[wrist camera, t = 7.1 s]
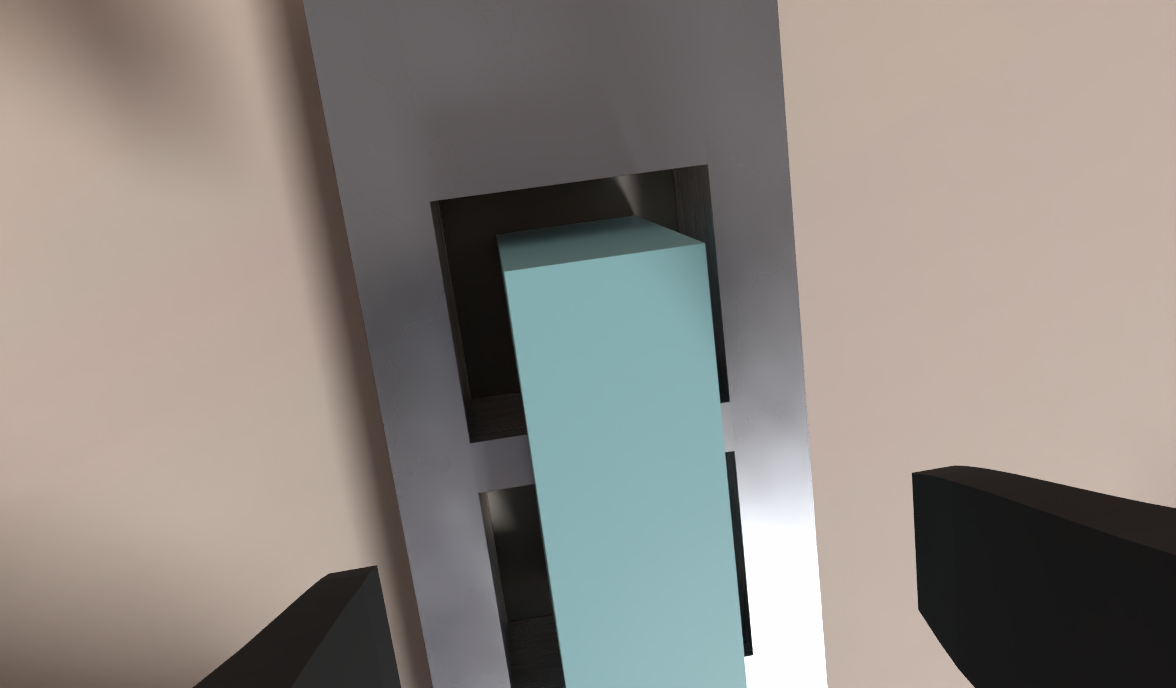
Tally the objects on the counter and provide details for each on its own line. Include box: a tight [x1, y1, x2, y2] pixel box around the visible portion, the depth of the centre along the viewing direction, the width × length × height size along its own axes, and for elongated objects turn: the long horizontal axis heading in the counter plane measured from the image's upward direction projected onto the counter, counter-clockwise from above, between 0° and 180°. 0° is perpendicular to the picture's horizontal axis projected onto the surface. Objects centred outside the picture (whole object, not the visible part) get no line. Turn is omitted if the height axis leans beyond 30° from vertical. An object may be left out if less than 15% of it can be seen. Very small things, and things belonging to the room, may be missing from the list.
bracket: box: [496, 215, 747, 688], centre depth 17 cm, size 8×3×6 cm, turn 7°
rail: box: [302, 0, 827, 688], centre depth 18 cm, size 18×8×3 cm, turn 7°
